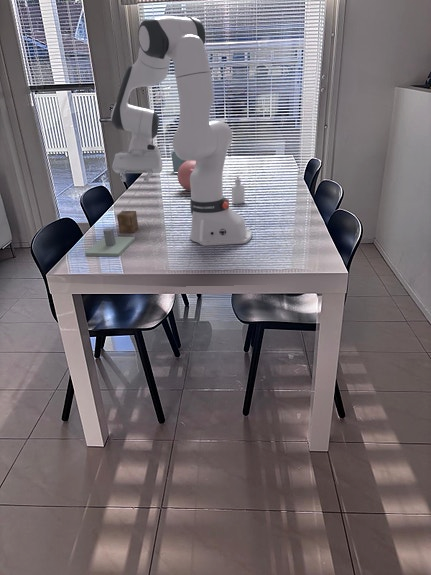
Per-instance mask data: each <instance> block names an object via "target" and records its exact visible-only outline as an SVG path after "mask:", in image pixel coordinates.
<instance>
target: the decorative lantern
mask: <svg viewBox="0 0 431 575" xmlns="http://www.w3.org/2000/svg"><path fill="white" fill-rule="evenodd" d="M195 164H196V161H186V162H184V163H183V164H182V165H181V166H180V168H179V170H178V174H177V180H178V183H179V185H180V187H181V188H182V189H184V190H186V191H188V192H191V187H190V176H191V173H192V171H193V170H194V167H195Z"/></svg>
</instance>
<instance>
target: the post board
mask: <svg viewBox="0 0 431 575" xmlns="http://www.w3.org/2000/svg"><path fill="white" fill-rule="evenodd" d="M102 232H103V237H102V238H100V239H99V240H98V241H96V243H95V244H93V245H92V246H91V247H90V248H89V249H88V250H86V251H85V253H84V255H85V257H87V256H89V257H90V256H91V257H92V256H93V257H120V256H121V255H122V254H124V252H125V251H126V250H127V249H128V248H129V247H130V246H131V244H133V242H134V241H135V240H136V238H135V236H115V232H114V228H112V227H111V228H109V227H108V228H105V229H104V230H103V231H102Z"/></svg>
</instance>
